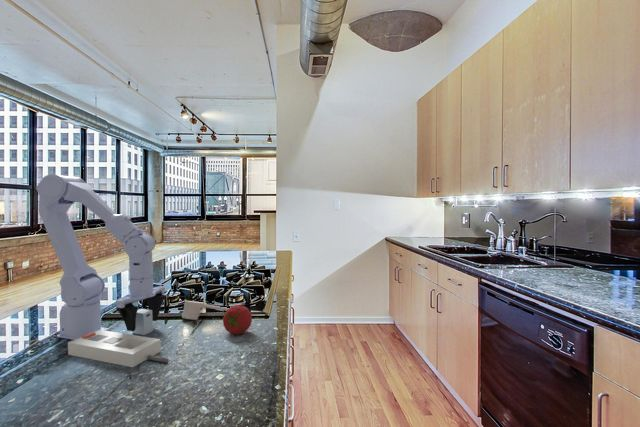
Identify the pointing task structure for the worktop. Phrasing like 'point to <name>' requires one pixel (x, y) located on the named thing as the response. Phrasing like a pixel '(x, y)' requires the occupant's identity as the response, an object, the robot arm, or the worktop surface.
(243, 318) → the tomato
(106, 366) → the worktop surface
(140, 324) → the block
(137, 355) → the power strip
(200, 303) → the toilet paper hanger
